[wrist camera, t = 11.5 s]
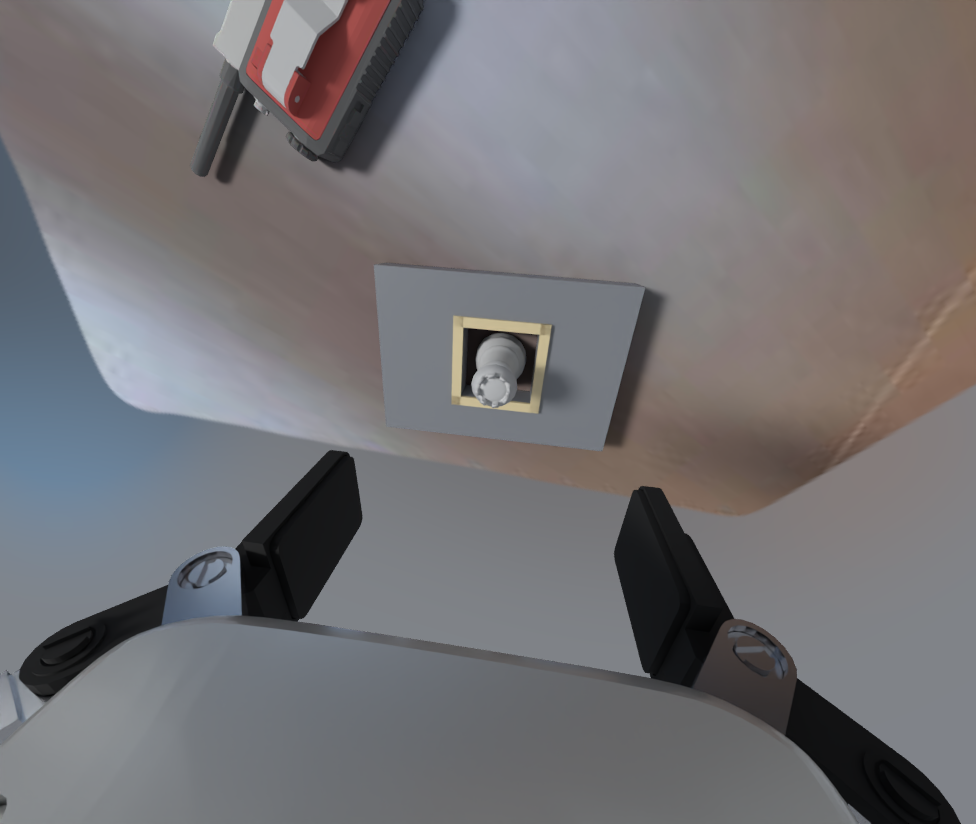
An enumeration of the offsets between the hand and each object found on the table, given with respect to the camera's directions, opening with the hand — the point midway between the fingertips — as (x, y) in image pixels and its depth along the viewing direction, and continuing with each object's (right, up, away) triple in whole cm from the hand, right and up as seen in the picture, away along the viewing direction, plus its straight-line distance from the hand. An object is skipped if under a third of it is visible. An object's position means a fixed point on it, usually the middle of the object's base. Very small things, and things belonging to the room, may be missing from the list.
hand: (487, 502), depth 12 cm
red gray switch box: (-12, +26, +12) cm, 31 cm away
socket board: (+1, +8, +19) cm, 21 cm away
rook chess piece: (+1, +8, +19) cm, 21 cm away
